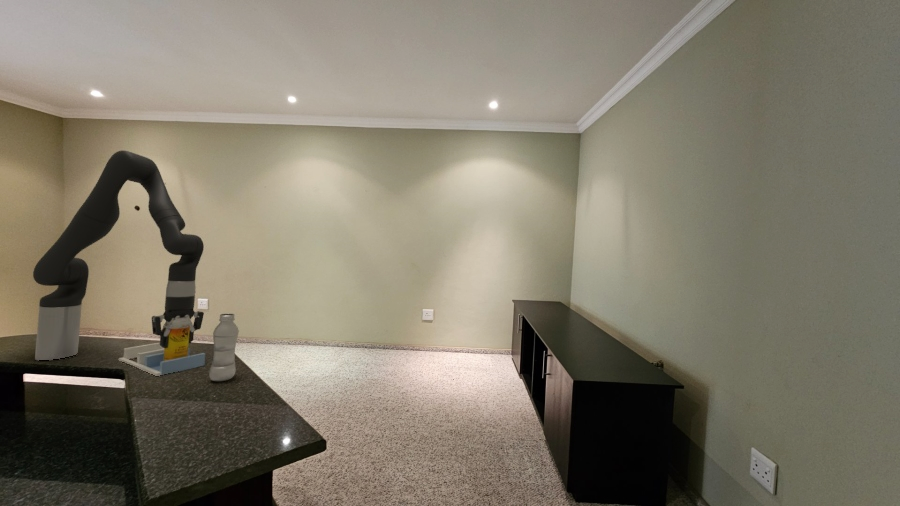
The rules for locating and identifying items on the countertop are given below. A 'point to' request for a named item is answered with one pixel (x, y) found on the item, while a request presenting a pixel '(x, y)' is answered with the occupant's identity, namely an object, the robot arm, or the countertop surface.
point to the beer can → (178, 339)
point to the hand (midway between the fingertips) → (176, 345)
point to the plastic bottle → (224, 349)
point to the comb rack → (160, 360)
